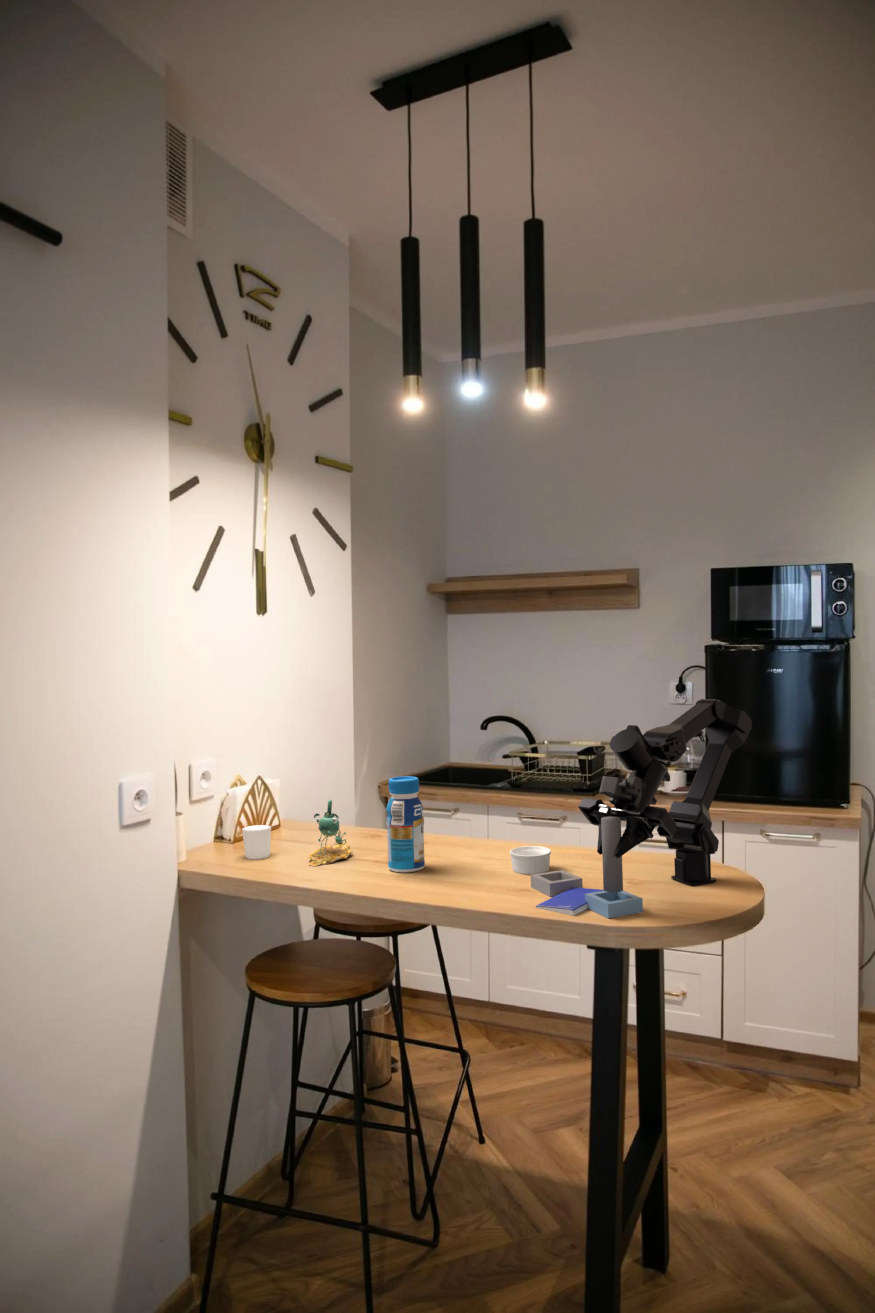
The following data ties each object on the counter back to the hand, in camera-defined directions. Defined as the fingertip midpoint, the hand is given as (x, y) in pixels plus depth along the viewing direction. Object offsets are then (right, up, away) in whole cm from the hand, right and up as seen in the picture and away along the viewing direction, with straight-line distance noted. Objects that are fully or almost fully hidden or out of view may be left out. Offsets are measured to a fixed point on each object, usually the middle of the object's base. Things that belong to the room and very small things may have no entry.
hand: (607, 855), depth 156 cm
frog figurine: (-55, -12, +48) cm, 74 cm away
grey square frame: (-7, -10, +15) cm, 20 cm away
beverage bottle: (-38, -11, +35) cm, 53 cm away
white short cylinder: (-74, -12, +51) cm, 91 cm away
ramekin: (-10, -11, +31) cm, 34 cm away
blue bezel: (+1, -10, +1) cm, 10 cm away
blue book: (-5, -11, +6) cm, 13 cm away
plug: (+1, -7, +1) cm, 7 cm away
